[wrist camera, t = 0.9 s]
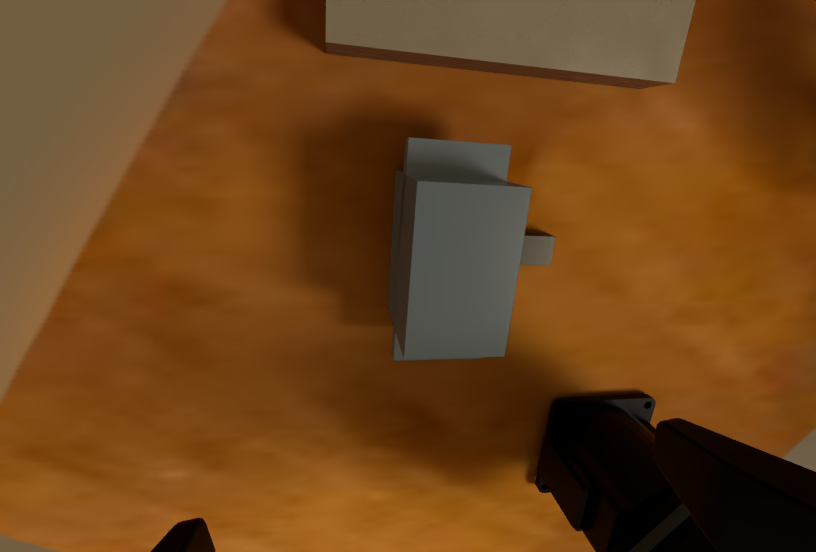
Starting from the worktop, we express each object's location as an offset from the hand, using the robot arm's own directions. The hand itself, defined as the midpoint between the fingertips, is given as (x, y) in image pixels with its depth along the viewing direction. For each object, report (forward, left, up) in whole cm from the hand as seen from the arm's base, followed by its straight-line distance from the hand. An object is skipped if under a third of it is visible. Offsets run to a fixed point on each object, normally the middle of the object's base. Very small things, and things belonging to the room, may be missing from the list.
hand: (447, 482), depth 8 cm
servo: (-4, -2, -12) cm, 13 cm away
